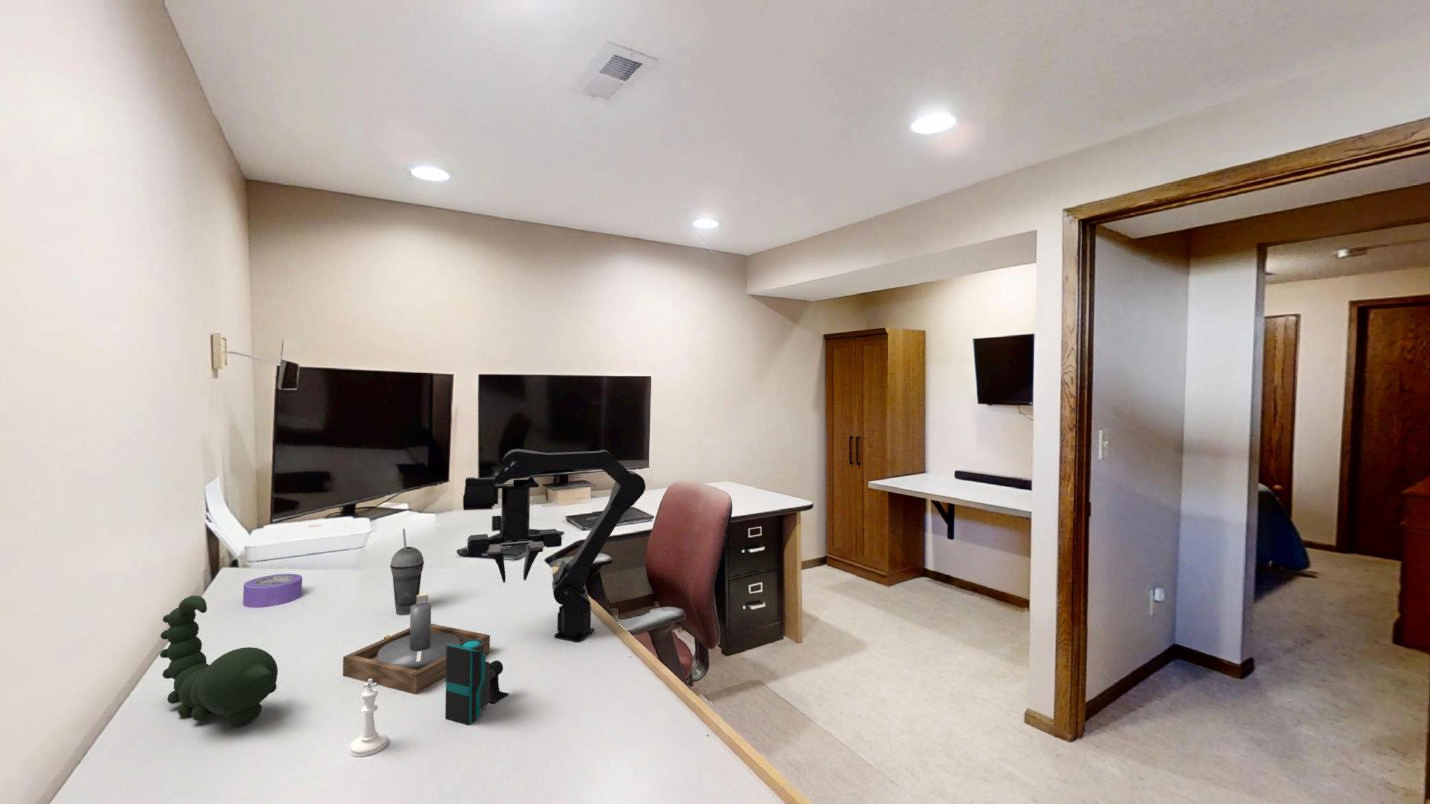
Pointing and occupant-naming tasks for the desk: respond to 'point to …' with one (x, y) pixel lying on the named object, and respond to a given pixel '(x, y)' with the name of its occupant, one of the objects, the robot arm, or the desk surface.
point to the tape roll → (272, 590)
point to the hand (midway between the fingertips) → (514, 581)
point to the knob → (418, 640)
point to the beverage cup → (406, 577)
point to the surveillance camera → (470, 681)
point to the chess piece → (369, 727)
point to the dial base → (399, 677)
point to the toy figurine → (214, 672)
